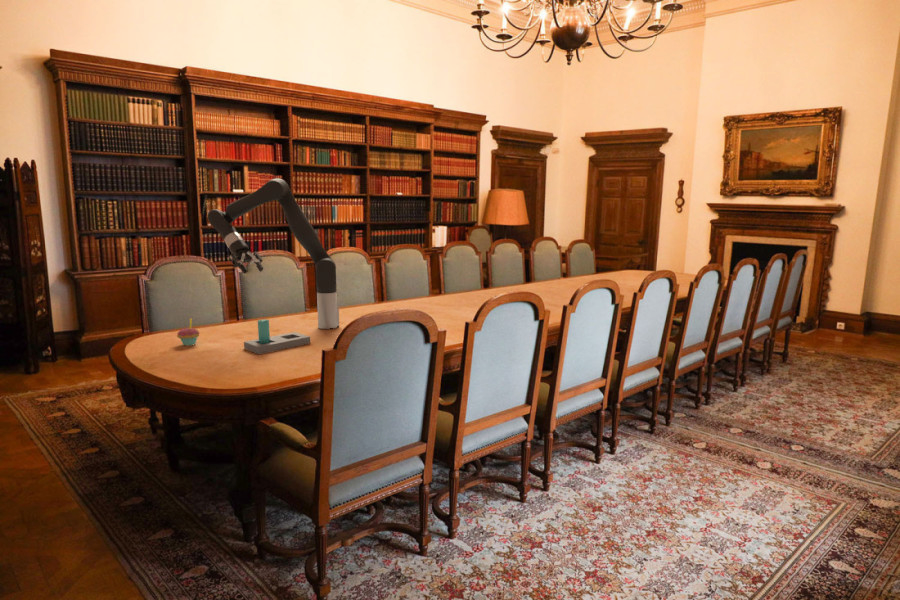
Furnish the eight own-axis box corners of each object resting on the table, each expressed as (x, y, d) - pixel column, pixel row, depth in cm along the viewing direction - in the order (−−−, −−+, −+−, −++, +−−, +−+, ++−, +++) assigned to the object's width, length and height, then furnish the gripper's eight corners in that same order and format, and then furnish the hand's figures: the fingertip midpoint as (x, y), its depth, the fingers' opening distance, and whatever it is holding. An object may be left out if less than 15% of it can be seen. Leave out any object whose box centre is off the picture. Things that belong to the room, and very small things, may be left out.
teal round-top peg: (266, 346, 241) (265, 318, 239) (272, 348, 238) (270, 320, 236) (257, 348, 238) (255, 320, 236) (262, 350, 235) (261, 322, 233)
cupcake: (203, 342, 248) (201, 315, 245) (193, 347, 239) (191, 319, 237) (184, 341, 248) (182, 314, 246) (173, 346, 240) (171, 318, 238)
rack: (295, 338, 255) (294, 331, 254) (310, 343, 247) (310, 336, 246) (244, 348, 238) (243, 341, 237) (258, 354, 230) (258, 347, 229)
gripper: (226, 240, 255) (244, 267, 251) (252, 238, 267) (270, 264, 263) (219, 251, 259) (237, 278, 255) (246, 248, 271) (263, 275, 267)
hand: (254, 271), depth 259 cm, fingers open, 8 cm apart
